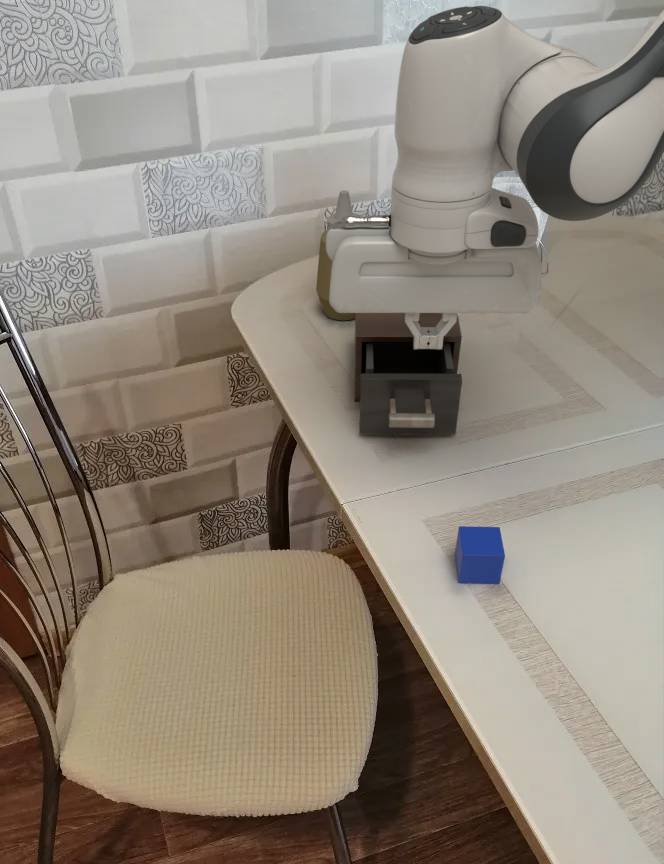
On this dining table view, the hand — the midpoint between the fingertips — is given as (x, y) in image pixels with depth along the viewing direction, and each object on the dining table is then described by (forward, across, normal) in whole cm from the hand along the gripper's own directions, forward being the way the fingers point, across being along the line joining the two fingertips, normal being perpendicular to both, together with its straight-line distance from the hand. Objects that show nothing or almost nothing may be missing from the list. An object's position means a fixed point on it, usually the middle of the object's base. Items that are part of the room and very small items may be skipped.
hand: (427, 346), depth 82 cm
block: (+16, +5, -16) cm, 23 cm away
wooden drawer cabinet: (+16, -1, +19) cm, 25 cm away
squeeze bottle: (+16, -9, +35) cm, 40 cm away
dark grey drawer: (+15, -1, +9) cm, 17 cm away
